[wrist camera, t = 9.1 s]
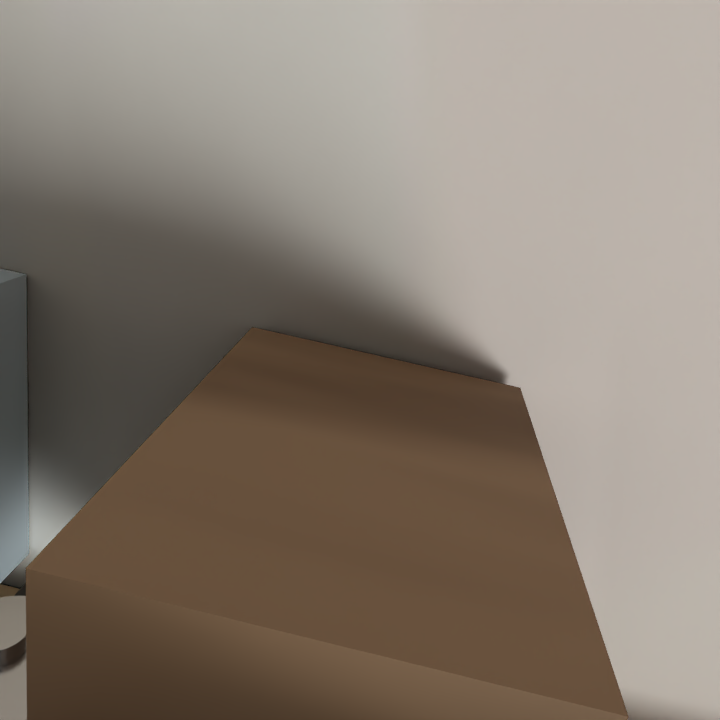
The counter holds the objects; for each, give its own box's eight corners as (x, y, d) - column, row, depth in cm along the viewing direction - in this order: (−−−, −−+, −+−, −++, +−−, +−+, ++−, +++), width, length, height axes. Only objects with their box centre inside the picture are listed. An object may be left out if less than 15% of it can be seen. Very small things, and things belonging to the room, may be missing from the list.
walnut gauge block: (251, 326, 10) (26, 567, 5) (519, 387, 10) (628, 717, 4) (213, 604, 12) (29, 998, 7) (433, 658, 12) (430, 1108, 7)
